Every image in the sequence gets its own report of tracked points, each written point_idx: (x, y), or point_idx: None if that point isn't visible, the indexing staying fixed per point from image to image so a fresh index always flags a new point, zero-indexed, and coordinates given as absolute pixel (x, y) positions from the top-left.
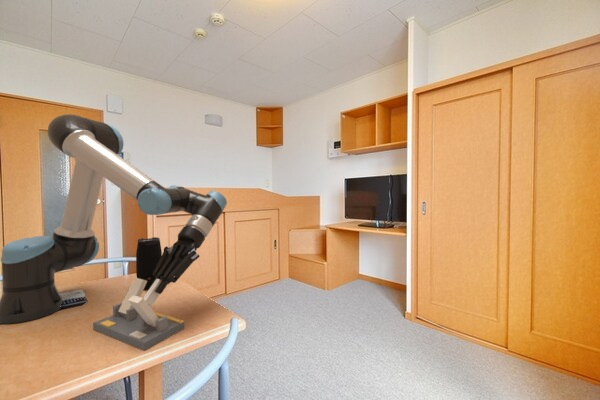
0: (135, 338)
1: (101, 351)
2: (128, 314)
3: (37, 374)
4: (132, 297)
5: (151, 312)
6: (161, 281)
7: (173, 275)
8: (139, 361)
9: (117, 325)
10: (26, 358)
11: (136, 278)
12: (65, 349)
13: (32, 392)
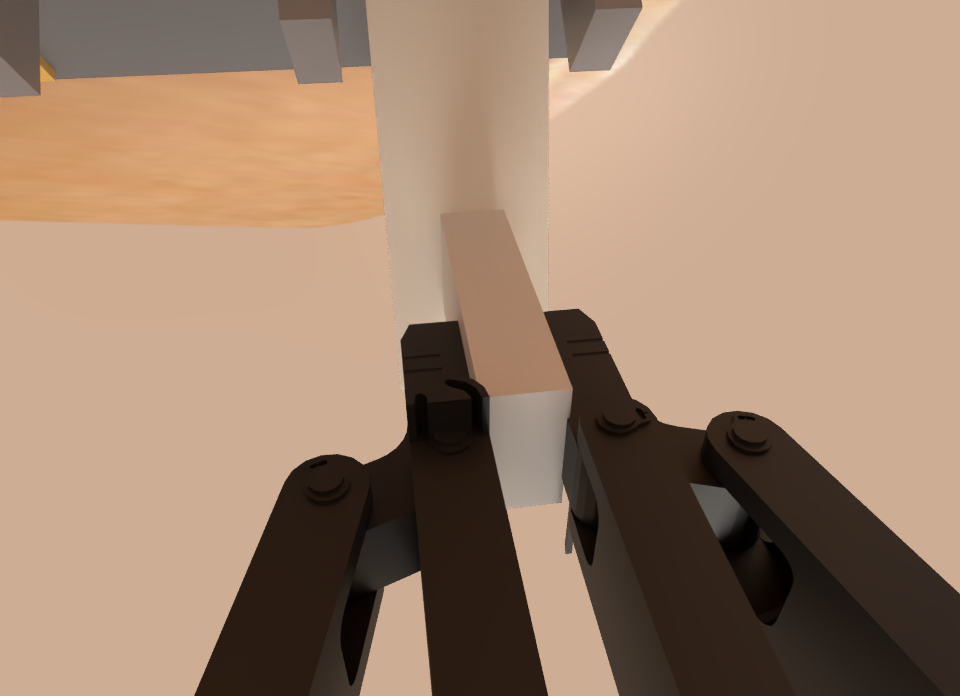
0: None
1: (307, 89)
2: (39, 50)
3: (276, 198)
4: None
5: (545, 181)
6: (564, 465)
7: (780, 555)
8: (627, 50)
9: (68, 35)
10: (76, 200)
11: None
12: (104, 142)
13: None
